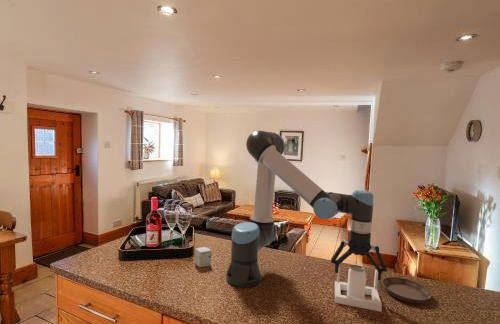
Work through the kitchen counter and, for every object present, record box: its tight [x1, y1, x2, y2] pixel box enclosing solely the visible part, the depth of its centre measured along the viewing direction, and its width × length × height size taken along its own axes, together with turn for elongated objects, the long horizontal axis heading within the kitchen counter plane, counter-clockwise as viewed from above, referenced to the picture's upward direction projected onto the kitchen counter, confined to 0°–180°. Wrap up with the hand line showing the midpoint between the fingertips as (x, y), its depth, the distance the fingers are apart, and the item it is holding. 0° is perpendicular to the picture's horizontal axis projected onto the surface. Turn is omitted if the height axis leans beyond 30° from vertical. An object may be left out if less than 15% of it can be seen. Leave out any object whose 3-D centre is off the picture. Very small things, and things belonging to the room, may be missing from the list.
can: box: [346, 264, 367, 299], centre depth 106 cm, size 6×6×12 cm
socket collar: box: [334, 280, 383, 313], centre depth 106 cm, size 16×13×2 cm
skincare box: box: [194, 246, 212, 268], centre depth 131 cm, size 6×6×7 cm
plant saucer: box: [381, 276, 432, 304], centre depth 112 cm, size 18×18×3 cm
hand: (356, 284), depth 106 cm, fingers open, 13 cm apart
